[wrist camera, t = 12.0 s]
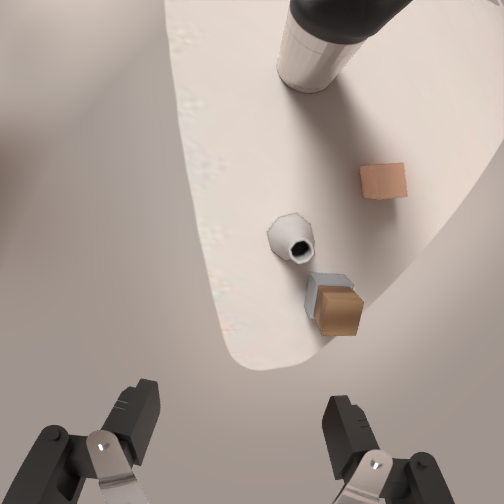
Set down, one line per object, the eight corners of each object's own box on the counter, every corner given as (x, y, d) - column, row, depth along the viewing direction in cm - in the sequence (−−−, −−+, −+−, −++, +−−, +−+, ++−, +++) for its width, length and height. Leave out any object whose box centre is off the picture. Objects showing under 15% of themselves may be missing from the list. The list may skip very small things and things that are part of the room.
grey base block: (309, 271, 45) (316, 282, 40) (344, 274, 45) (353, 284, 40) (303, 305, 46) (309, 319, 41) (337, 307, 46) (345, 320, 41)
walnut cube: (318, 285, 40) (328, 301, 34) (349, 286, 40) (363, 302, 34) (313, 315, 41) (321, 335, 35) (343, 316, 41) (355, 335, 35)
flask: (321, 243, 43) (340, 259, 34) (283, 267, 44) (291, 290, 35) (298, 204, 42) (311, 209, 32) (258, 230, 43) (259, 243, 33)
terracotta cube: (359, 166, 40) (374, 164, 35) (385, 164, 40) (403, 162, 34) (363, 197, 42) (379, 200, 36) (389, 194, 41) (407, 196, 36)
